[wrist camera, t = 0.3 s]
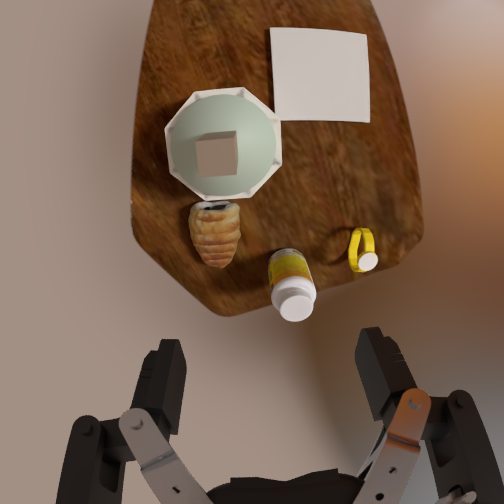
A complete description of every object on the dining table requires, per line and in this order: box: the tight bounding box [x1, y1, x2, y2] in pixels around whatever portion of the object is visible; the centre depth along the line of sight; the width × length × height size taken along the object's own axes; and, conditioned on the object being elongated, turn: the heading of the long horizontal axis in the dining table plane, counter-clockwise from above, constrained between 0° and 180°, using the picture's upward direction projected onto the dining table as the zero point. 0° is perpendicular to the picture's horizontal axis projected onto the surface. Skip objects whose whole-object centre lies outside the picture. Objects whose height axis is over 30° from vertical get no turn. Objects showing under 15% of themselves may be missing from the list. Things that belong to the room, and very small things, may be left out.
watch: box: [348, 228, 378, 272], centre depth 38 cm, size 6×3×6 cm, turn 175°
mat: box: [270, 28, 370, 122], centre depth 30 cm, size 12×12×1 cm
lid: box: [170, 94, 276, 196], centre depth 26 cm, size 11×11×8 cm
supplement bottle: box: [268, 248, 316, 322], centre depth 38 cm, size 6×6×10 cm
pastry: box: [188, 201, 241, 268], centre depth 38 cm, size 9×7×4 cm
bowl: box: [165, 87, 282, 201], centre depth 32 cm, size 12×12×6 cm
